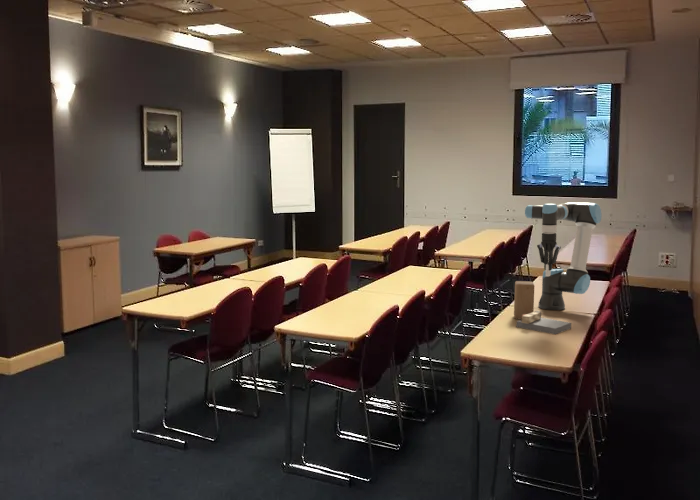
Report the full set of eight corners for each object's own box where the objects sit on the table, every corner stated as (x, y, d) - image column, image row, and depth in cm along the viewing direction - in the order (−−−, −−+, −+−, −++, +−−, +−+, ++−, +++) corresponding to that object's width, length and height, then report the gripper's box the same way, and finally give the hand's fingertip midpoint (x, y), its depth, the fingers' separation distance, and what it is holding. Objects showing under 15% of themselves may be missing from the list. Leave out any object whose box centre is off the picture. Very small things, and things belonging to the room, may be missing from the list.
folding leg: (535, 317, 355) (536, 310, 354) (542, 318, 353) (542, 311, 352) (521, 322, 342) (522, 316, 342) (528, 323, 340) (528, 317, 340)
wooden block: (533, 320, 362) (534, 284, 359) (514, 319, 364) (515, 283, 361) (532, 316, 372) (533, 281, 369) (513, 315, 374) (514, 280, 371)
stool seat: (532, 321, 359) (533, 310, 359) (570, 328, 344) (571, 317, 343) (516, 326, 347) (516, 315, 346) (555, 334, 332) (555, 322, 331)
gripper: (563, 232, 351) (562, 276, 355) (541, 231, 360) (540, 273, 364) (557, 234, 346) (555, 278, 350) (534, 232, 355) (533, 275, 359)
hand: (547, 276), depth 357 cm, fingers closed
